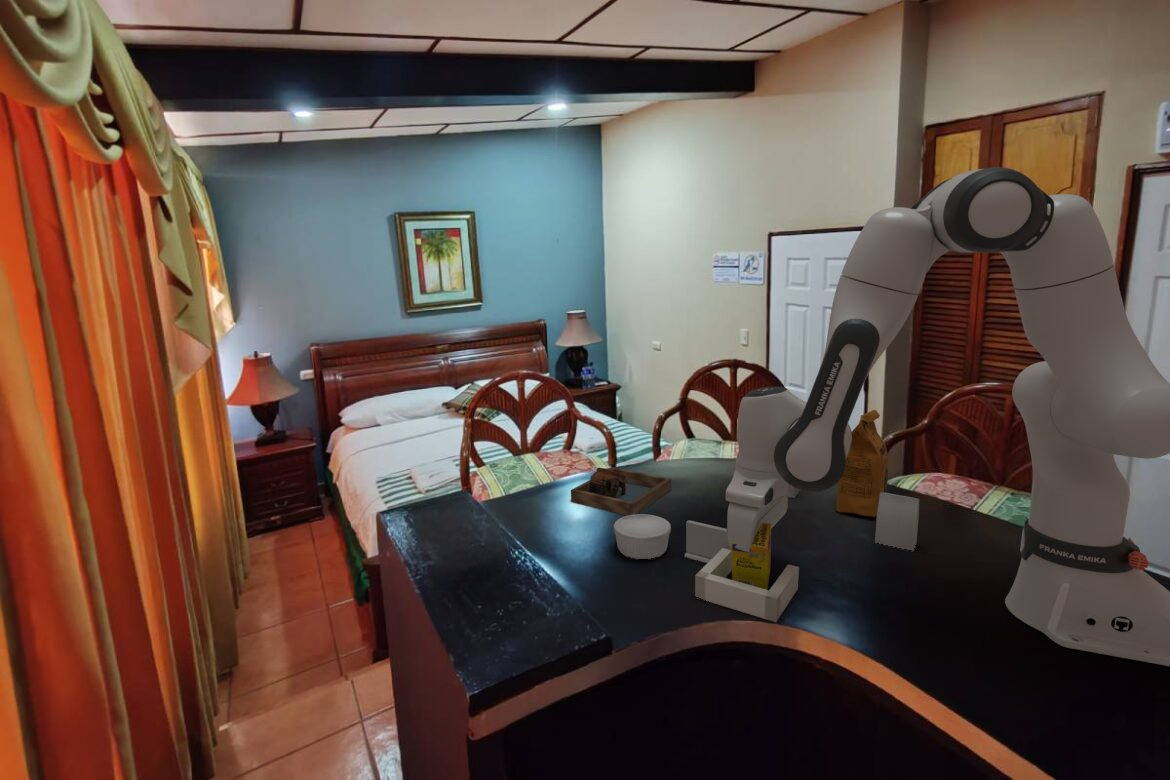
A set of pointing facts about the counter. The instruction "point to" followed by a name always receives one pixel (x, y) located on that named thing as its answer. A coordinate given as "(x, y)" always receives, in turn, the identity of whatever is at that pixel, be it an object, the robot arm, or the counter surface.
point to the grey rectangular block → (897, 521)
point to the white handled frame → (743, 587)
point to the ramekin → (642, 536)
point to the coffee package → (864, 470)
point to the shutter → (705, 539)
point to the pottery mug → (612, 483)
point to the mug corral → (621, 506)
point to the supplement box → (753, 560)
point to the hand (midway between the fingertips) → (758, 554)
